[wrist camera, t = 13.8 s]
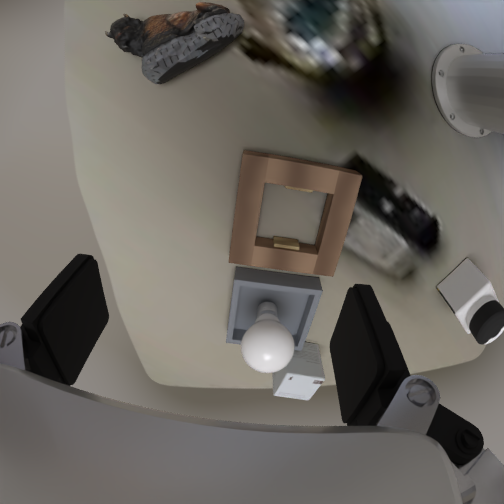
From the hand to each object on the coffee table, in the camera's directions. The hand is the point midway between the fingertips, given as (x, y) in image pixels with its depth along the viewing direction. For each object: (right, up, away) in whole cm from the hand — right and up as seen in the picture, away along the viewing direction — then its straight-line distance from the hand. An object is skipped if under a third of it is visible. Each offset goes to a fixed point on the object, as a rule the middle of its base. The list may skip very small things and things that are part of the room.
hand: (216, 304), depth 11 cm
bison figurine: (-6, +26, +15) cm, 30 cm away
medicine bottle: (+35, -3, +29) cm, 46 cm away
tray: (+4, -6, +32) cm, 32 cm away
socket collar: (+6, +6, +25) cm, 26 cm away
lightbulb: (+3, -6, +31) cm, 32 cm away
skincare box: (+8, -14, +37) cm, 40 cm away
